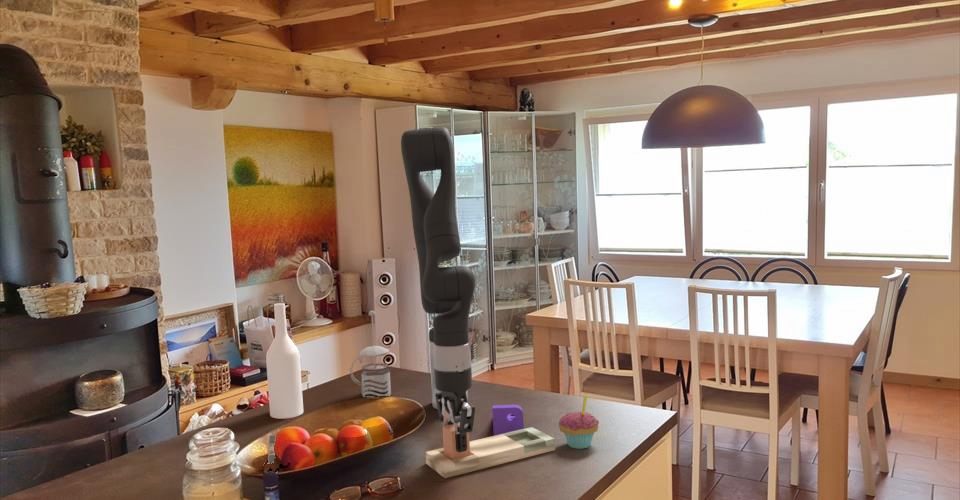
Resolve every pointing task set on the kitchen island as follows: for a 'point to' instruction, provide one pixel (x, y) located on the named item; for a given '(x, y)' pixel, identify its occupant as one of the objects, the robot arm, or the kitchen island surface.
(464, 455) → the salmon orange rectangular block
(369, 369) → the french press
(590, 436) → the cupcake
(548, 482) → the kitchen island surface
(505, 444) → the rail
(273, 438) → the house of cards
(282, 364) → the bottle
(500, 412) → the bracket
